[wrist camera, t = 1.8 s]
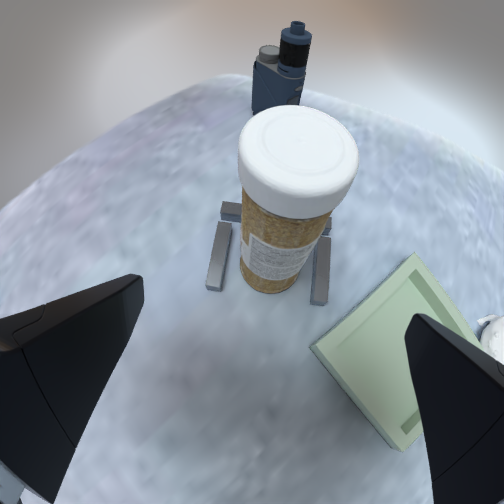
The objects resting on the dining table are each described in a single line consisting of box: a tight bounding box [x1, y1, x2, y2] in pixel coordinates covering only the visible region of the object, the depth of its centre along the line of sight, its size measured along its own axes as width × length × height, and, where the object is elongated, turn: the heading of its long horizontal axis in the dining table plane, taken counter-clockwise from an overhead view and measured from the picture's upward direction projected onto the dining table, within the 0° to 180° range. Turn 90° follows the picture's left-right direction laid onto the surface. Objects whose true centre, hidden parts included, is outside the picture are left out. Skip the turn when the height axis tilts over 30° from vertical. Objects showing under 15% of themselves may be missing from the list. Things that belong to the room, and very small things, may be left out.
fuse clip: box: [205, 201, 332, 306], centre depth 22 cm, size 7×9×1 cm
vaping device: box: [252, 21, 312, 116], centre depth 23 cm, size 3×5×12 cm, turn 40°
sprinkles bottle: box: [238, 105, 359, 293], centre depth 16 cm, size 5×5×14 cm
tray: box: [309, 252, 484, 452], centre depth 19 cm, size 11×11×2 cm
